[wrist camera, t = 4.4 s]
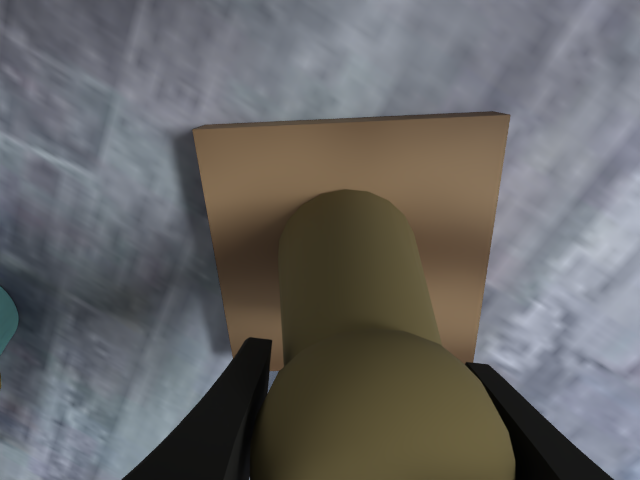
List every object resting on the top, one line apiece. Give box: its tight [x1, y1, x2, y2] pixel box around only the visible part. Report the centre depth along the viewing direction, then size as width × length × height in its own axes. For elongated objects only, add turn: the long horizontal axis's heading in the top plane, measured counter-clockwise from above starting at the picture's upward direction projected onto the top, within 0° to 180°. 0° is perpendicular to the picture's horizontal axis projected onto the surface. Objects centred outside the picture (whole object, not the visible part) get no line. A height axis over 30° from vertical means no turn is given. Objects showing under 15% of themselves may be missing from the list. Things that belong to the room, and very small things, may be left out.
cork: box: [250, 189, 515, 480], centre depth 11 cm, size 6×6×11 cm
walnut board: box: [193, 111, 510, 371], centre depth 18 cm, size 12×12×2 cm
